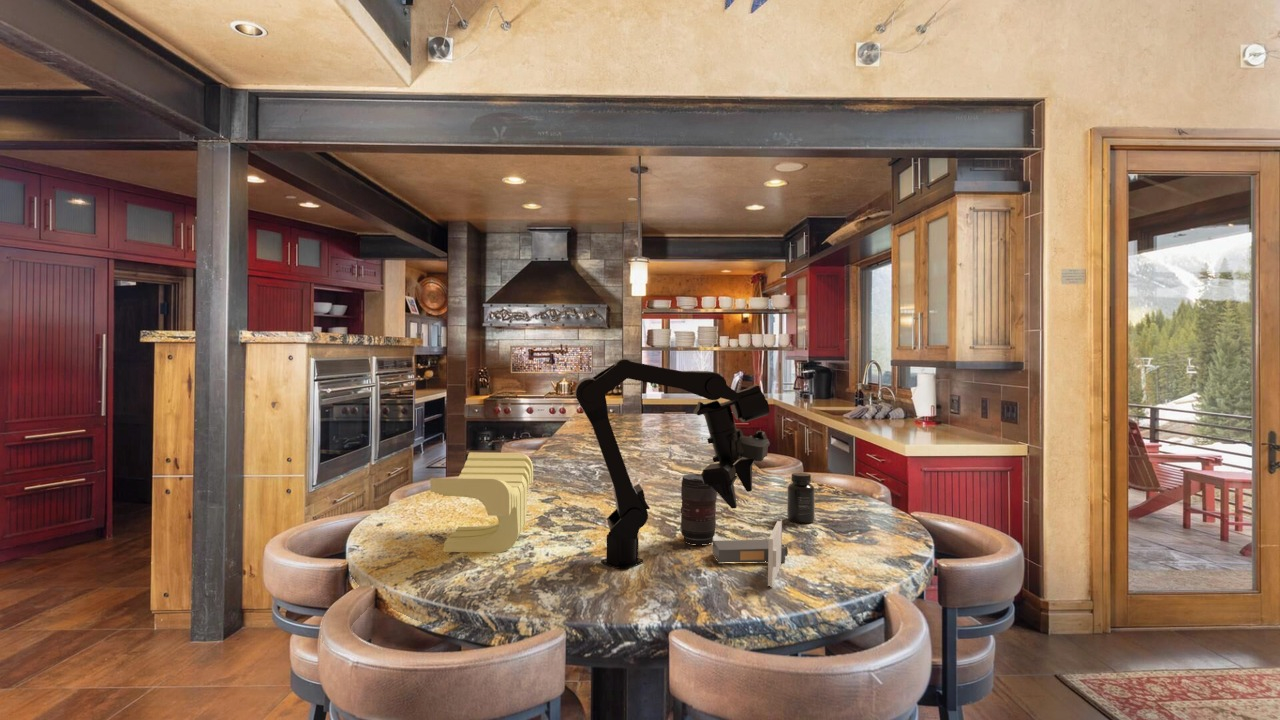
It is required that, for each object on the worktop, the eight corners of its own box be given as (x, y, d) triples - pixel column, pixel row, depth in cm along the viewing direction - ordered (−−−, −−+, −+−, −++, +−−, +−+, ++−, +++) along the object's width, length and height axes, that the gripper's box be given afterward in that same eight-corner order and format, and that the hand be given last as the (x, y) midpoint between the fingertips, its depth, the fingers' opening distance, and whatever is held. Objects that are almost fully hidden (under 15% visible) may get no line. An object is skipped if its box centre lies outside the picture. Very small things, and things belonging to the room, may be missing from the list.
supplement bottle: (817, 519, 164) (818, 473, 163) (809, 525, 158) (810, 478, 158) (792, 515, 167) (792, 470, 167) (783, 521, 162) (784, 474, 161)
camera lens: (714, 548, 140) (715, 481, 139) (678, 546, 141) (679, 479, 141) (717, 537, 148) (718, 474, 147) (683, 535, 149) (683, 472, 149)
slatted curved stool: (509, 565, 128) (509, 478, 127) (430, 565, 128) (430, 478, 127) (532, 523, 158) (533, 452, 157) (469, 523, 158) (469, 452, 157)
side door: (775, 588, 117) (776, 538, 117) (767, 587, 118) (768, 537, 117) (784, 564, 130) (785, 519, 130) (777, 563, 131) (777, 518, 130)
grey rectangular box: (718, 564, 130) (719, 550, 129) (712, 554, 136) (712, 540, 136) (790, 562, 131) (790, 548, 131) (781, 552, 137) (781, 539, 137)
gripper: (741, 437, 120) (763, 514, 121) (772, 411, 136) (791, 479, 137) (691, 445, 126) (711, 518, 127) (725, 419, 142) (744, 484, 143)
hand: (742, 499), depth 133 cm, fingers open, 9 cm apart
